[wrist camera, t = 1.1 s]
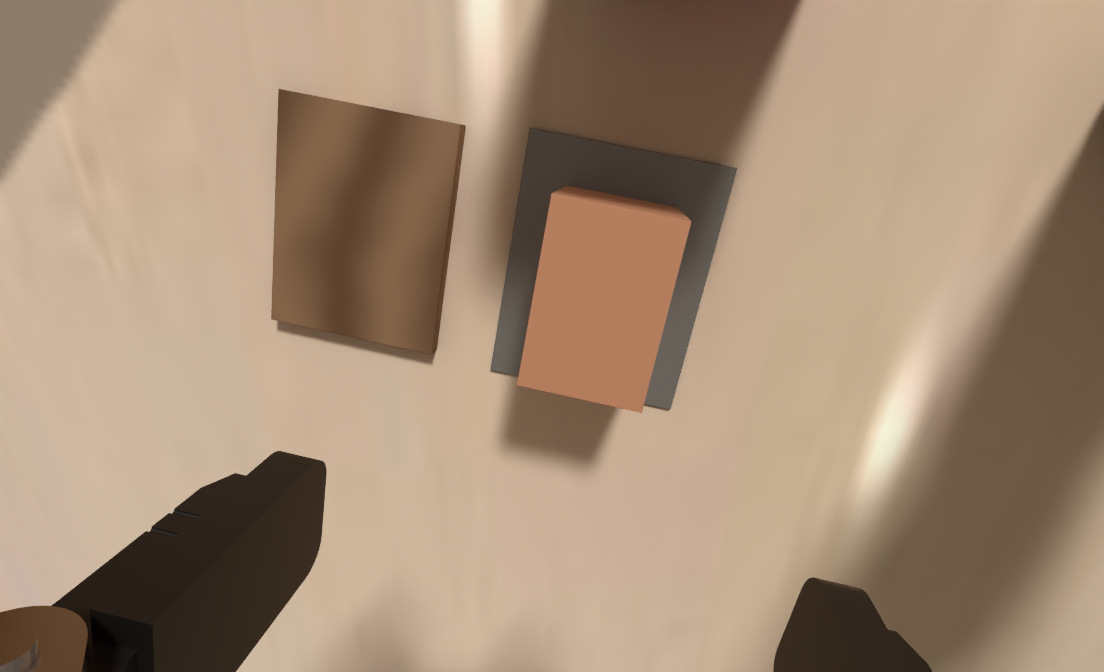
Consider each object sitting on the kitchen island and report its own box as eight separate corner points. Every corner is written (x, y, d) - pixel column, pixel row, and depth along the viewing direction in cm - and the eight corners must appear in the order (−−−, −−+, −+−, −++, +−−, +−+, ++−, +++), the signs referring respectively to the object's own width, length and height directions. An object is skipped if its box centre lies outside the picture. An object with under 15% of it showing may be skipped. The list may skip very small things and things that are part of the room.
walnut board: (465, 125, 31) (460, 124, 30) (436, 349, 35) (431, 354, 34) (289, 91, 32) (278, 89, 31) (280, 314, 36) (271, 319, 35)
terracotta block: (677, 207, 31) (691, 221, 24) (638, 362, 34) (641, 412, 27) (567, 185, 31) (551, 193, 24) (538, 340, 34) (517, 385, 27)
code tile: (736, 168, 30) (736, 168, 30) (670, 408, 34) (670, 409, 34) (530, 128, 31) (530, 128, 30) (491, 368, 35) (490, 370, 35)
